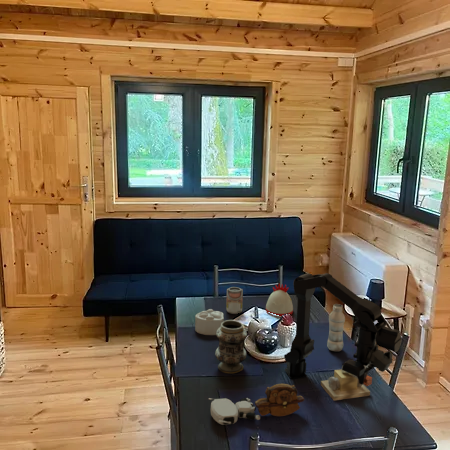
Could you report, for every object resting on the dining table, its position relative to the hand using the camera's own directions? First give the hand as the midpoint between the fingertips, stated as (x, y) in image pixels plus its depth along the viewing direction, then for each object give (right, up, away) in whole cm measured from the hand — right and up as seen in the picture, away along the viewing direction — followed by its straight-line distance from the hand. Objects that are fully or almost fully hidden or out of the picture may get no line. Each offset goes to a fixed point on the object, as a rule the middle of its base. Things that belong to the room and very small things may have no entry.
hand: (361, 384), depth 149 cm
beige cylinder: (-41, +9, +76) cm, 87 cm away
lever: (-1, 0, +5) cm, 5 cm away
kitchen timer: (-18, +9, +78) cm, 81 cm away
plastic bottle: (+1, 0, +38) cm, 38 cm away
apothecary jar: (-44, -2, +23) cm, 50 cm away
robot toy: (-43, -8, -7) cm, 45 cm away
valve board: (-3, -5, +9) cm, 11 cm away
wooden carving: (-28, -8, -5) cm, 30 cm away
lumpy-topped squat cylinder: (-53, +5, +55) cm, 77 cm away
